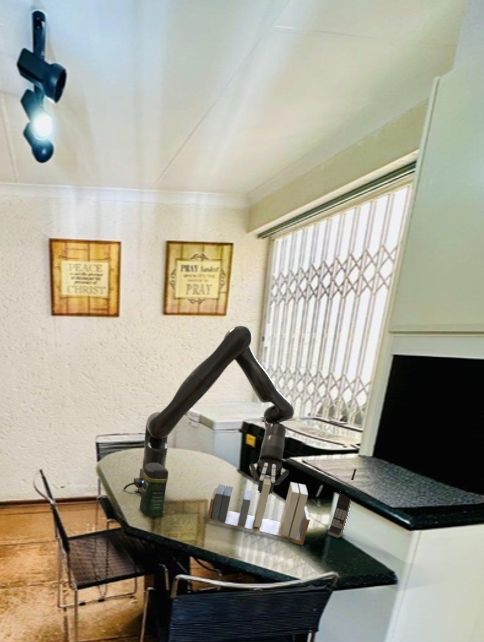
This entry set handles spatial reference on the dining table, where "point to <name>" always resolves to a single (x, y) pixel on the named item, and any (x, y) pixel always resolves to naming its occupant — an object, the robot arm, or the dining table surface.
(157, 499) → the coffee jar
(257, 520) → the white book
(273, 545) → the dining table surface
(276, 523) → the book shelf
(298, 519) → the white books
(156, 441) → the robot arm
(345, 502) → the vintage mobile phone
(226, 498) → the grey books
